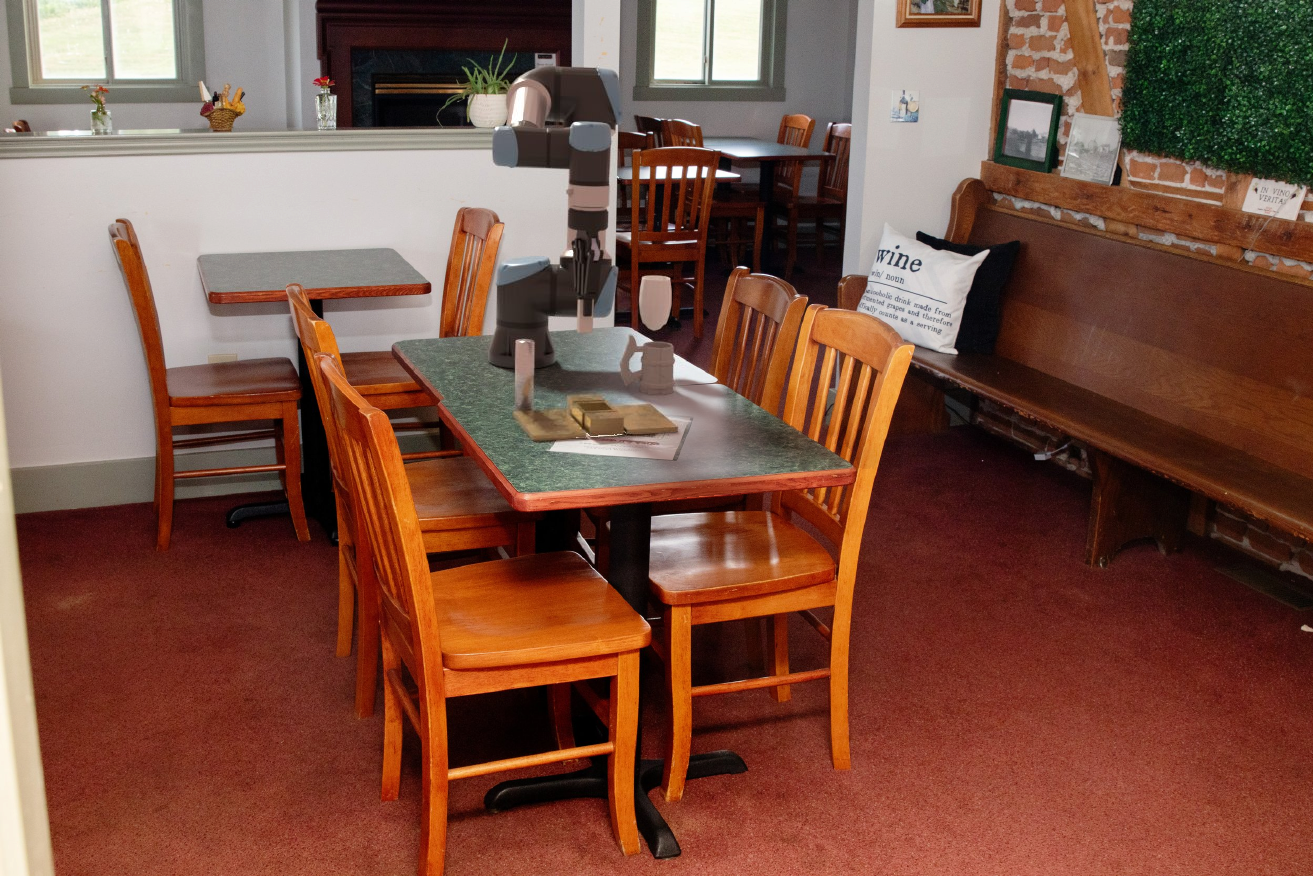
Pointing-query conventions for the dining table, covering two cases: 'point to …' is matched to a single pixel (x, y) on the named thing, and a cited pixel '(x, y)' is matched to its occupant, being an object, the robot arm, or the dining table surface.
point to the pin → (524, 375)
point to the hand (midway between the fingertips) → (584, 331)
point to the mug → (650, 366)
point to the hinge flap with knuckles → (632, 416)
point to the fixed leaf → (571, 421)
